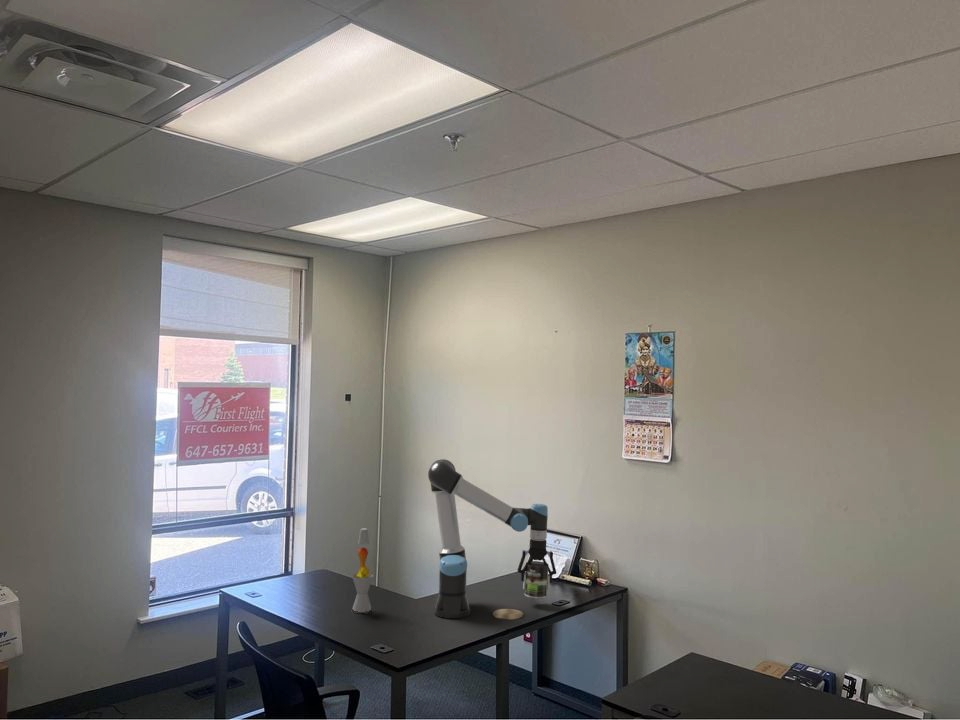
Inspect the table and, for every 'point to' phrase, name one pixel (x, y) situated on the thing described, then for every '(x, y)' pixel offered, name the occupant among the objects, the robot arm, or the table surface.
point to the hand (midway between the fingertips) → (536, 589)
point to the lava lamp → (362, 576)
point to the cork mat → (508, 614)
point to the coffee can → (536, 580)
